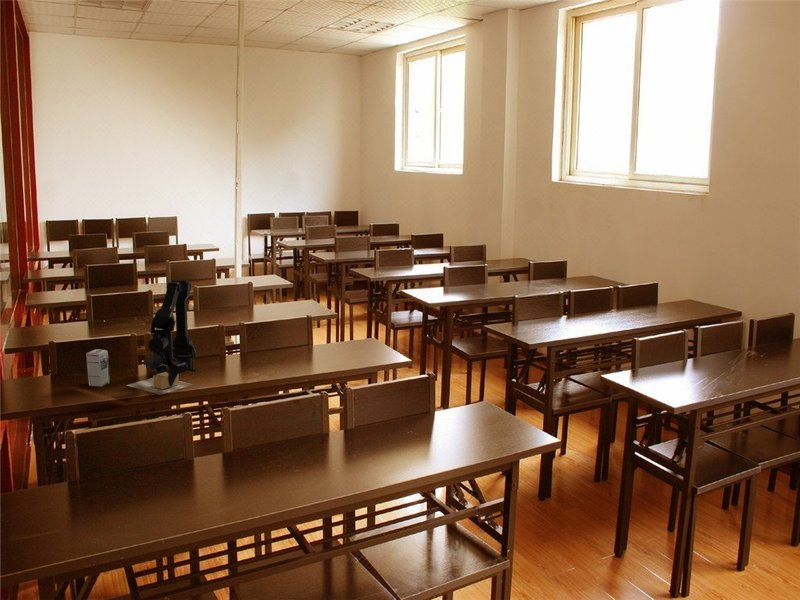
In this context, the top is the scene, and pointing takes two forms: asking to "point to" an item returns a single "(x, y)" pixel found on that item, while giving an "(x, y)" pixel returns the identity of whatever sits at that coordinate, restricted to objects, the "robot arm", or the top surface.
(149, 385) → the grey patterned flat panel
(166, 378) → the sanding block
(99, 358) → the syrup box
